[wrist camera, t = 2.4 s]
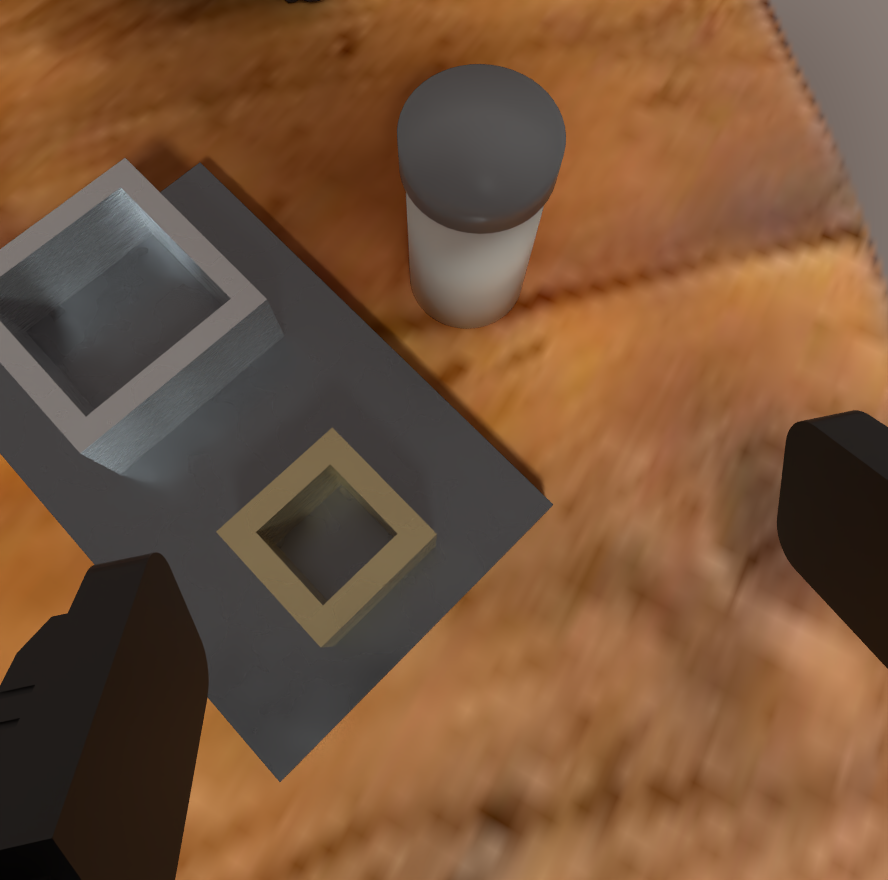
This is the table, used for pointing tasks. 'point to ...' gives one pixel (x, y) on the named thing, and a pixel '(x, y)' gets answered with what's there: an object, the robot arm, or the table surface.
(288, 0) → the pipe
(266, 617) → the plate
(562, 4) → the table surface
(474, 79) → the grey and white cylinder
